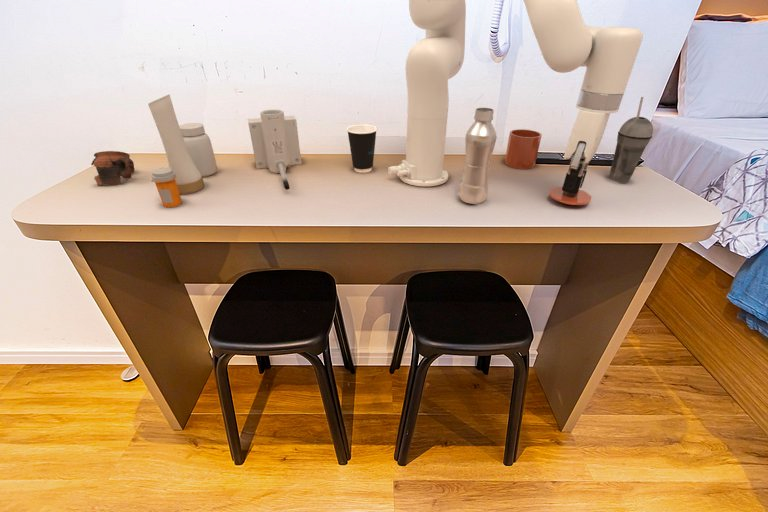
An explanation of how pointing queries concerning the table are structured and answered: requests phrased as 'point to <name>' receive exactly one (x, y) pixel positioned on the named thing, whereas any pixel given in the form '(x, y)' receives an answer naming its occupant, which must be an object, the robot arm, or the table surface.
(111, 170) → the pottery mug
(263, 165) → the electronic device
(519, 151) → the storage jar
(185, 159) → the toiletry set
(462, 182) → the metal water bottle
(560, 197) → the jar lid
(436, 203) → the table surface
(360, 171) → the dixie cup
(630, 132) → the beverage cup
